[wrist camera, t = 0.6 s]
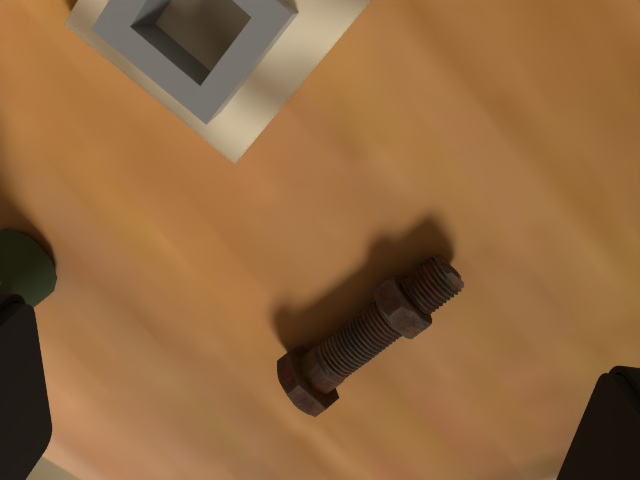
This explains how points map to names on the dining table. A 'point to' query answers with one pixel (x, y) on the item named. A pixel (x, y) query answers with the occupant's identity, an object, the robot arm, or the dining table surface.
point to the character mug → (25, 268)
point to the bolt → (367, 334)
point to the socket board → (211, 44)
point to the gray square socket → (178, 64)
